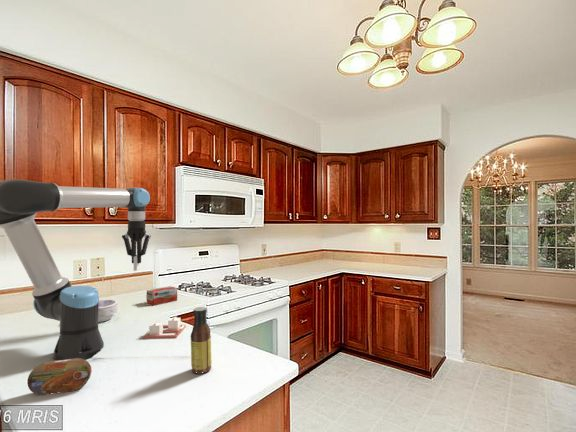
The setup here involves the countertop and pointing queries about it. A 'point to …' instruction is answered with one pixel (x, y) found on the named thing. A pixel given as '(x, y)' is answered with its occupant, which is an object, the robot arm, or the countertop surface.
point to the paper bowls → (107, 309)
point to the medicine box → (161, 295)
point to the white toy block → (174, 323)
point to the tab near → (156, 328)
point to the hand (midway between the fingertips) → (136, 270)
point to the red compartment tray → (165, 332)
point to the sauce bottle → (200, 342)
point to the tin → (59, 376)
